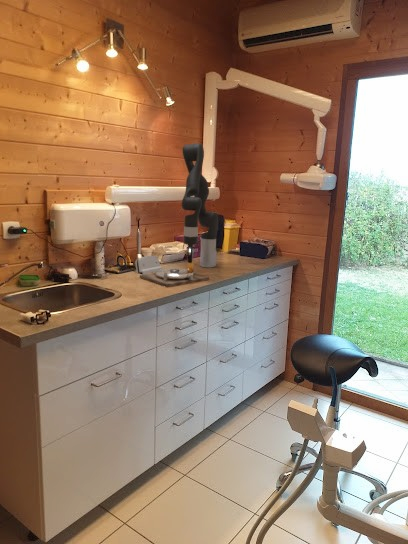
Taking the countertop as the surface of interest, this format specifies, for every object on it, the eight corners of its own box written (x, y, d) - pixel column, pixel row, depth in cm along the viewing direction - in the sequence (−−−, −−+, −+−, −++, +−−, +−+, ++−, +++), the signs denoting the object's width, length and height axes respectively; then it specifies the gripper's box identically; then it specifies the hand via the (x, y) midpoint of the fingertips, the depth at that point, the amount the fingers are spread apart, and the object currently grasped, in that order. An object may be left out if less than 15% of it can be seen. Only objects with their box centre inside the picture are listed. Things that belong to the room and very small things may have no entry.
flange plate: (178, 269, 238) (179, 257, 237) (203, 277, 221) (204, 265, 220) (148, 273, 226) (148, 261, 224) (172, 281, 209) (172, 269, 207)
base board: (180, 271, 243) (180, 261, 241) (209, 279, 225) (209, 268, 224) (139, 277, 224) (139, 266, 223) (167, 287, 207) (167, 275, 206)
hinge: (142, 274, 232) (138, 256, 232) (137, 276, 235) (132, 258, 235) (163, 270, 245) (159, 253, 245) (157, 271, 248) (153, 255, 248)
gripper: (184, 232, 231) (183, 263, 235) (182, 236, 218) (181, 269, 222) (198, 233, 231) (197, 264, 235) (197, 237, 218) (196, 269, 222)
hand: (189, 266), depth 229 cm, fingers closed
